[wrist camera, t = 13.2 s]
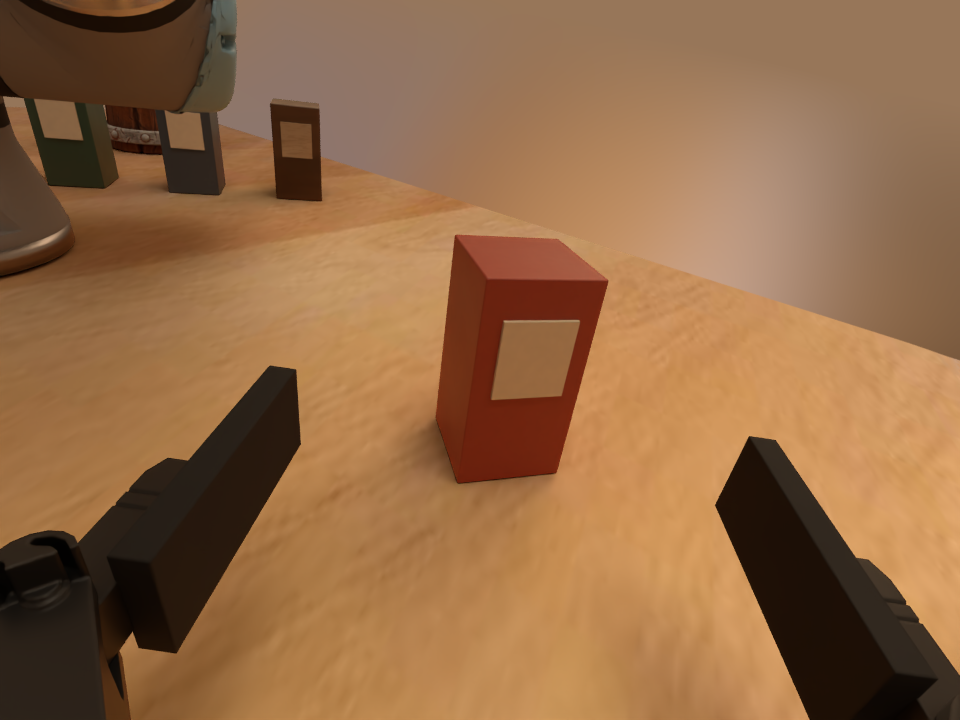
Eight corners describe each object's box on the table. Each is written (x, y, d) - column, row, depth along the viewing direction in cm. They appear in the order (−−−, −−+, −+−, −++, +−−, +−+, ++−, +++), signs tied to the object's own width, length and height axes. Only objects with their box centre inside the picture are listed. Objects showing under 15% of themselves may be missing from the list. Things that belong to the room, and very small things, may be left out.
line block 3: (321, 201, 61) (319, 108, 56) (276, 198, 59) (269, 103, 54) (320, 190, 65) (318, 103, 60) (278, 188, 63) (272, 98, 58)
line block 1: (104, 188, 54) (79, 82, 49) (47, 185, 53) (15, 75, 48) (119, 177, 58) (97, 78, 53) (66, 174, 57) (39, 72, 52)
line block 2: (219, 195, 57) (206, 96, 52) (168, 192, 56) (151, 90, 51) (225, 184, 62) (214, 91, 57) (178, 181, 60) (163, 86, 55)
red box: (558, 475, 25) (611, 281, 20) (458, 486, 23) (488, 279, 18) (522, 411, 29) (558, 238, 24) (435, 417, 27) (454, 234, 22)
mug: (86, 136, 73) (81, 15, 67) (195, 154, 83) (199, 50, 78) (106, 152, 66) (103, 20, 61) (222, 170, 76) (228, 58, 71)
